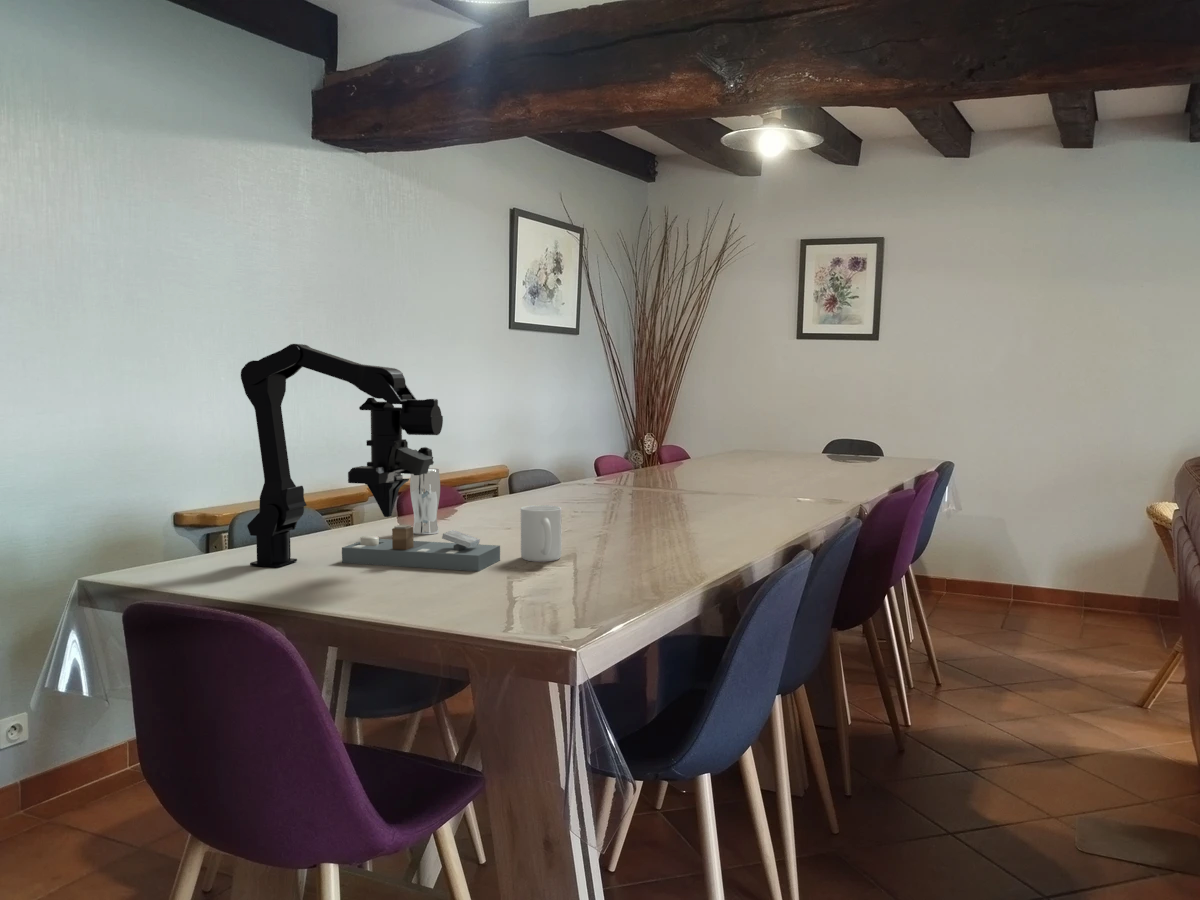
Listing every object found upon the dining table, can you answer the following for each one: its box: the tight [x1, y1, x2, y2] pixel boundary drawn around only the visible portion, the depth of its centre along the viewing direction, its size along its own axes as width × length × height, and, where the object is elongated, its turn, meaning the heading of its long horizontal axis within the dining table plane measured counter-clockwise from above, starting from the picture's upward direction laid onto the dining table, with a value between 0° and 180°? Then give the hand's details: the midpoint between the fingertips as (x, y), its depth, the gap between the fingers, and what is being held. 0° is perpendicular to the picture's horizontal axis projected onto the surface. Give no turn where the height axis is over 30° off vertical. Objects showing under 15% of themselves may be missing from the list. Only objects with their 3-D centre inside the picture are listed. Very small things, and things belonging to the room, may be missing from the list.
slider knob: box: [391, 524, 414, 550], centre depth 180 cm, size 3×3×4 cm
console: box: [341, 538, 501, 572], centre depth 183 cm, size 11×29×4 cm, turn 75°
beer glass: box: [409, 467, 441, 536], centre depth 216 cm, size 7×7×15 cm
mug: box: [520, 504, 563, 563], centre depth 185 cm, size 12×8×10 cm
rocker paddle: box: [441, 529, 481, 548], centre depth 180 cm, size 5×6×1 cm
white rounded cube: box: [359, 535, 380, 546], centre depth 186 cm, size 4×4×4 cm
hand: (387, 516), depth 174 cm, fingers closed
